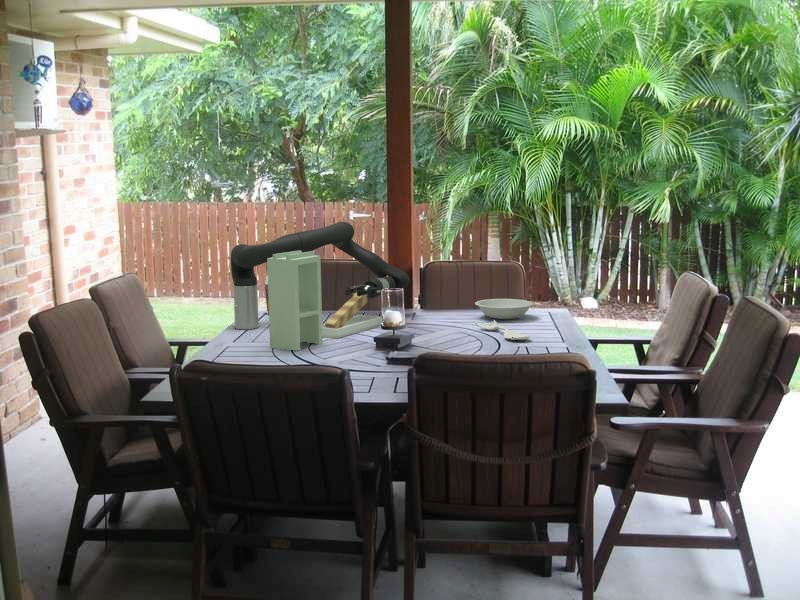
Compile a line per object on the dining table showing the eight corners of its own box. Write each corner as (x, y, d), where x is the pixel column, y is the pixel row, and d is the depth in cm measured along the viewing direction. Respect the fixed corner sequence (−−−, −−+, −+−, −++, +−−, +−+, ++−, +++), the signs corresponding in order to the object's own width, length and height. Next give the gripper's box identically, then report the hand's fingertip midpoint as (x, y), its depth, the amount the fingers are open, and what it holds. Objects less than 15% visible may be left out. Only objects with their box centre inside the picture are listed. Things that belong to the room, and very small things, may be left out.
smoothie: (288, 312, 395) (286, 267, 392) (279, 315, 387) (278, 269, 384) (270, 311, 398) (269, 266, 395) (262, 315, 390) (260, 269, 387)
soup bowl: (542, 316, 379) (542, 301, 378) (518, 325, 359) (518, 309, 358) (491, 312, 392) (491, 297, 391) (464, 320, 372) (464, 304, 371)
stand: (296, 351, 315) (294, 255, 310) (270, 347, 321) (267, 254, 316) (322, 343, 328) (320, 251, 322) (296, 340, 334) (293, 250, 329)
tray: (337, 338, 336) (337, 329, 336) (313, 336, 342) (313, 326, 341) (382, 325, 362) (382, 316, 362) (360, 323, 368) (359, 314, 367)
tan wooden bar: (336, 333, 341) (333, 324, 339) (327, 332, 343) (324, 323, 341) (367, 301, 358) (365, 292, 357) (359, 300, 361) (357, 291, 359)
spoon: (494, 327, 356) (494, 319, 356) (535, 342, 327) (535, 333, 326) (473, 329, 353) (473, 320, 353) (512, 344, 324) (513, 335, 323)
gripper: (361, 277, 369) (336, 282, 355) (390, 279, 362) (367, 284, 347) (361, 295, 370) (337, 301, 356) (391, 298, 363) (367, 304, 349)
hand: (352, 293), depth 352 cm, fingers open, 4 cm apart
